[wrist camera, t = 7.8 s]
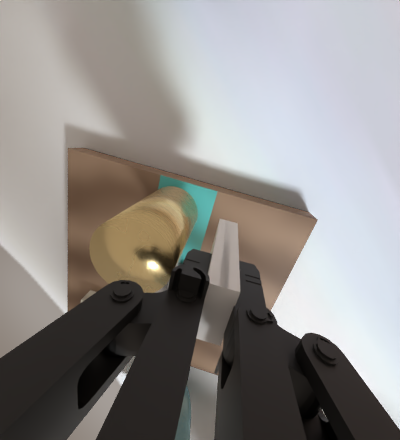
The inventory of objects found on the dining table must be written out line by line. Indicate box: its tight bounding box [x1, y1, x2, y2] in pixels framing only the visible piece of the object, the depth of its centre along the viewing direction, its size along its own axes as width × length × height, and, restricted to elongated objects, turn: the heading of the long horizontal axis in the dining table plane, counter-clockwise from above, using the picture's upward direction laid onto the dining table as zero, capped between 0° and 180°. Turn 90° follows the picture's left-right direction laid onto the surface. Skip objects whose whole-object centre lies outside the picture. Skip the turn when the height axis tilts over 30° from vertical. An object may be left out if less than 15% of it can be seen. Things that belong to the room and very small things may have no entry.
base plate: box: [68, 148, 317, 375], centre depth 21 cm, size 22×22×4 cm
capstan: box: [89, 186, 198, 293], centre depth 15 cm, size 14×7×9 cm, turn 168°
